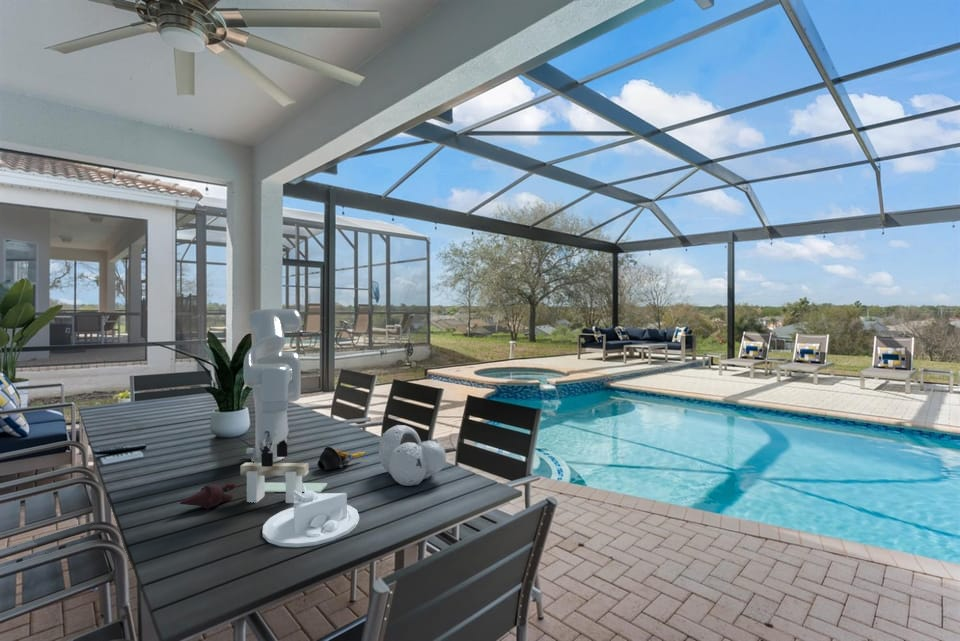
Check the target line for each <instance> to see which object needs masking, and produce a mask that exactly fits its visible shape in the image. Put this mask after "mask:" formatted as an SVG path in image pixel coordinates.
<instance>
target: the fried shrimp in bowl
mask: <svg viewBox="0 0 960 641" xmlns="http://www.w3.org/2000/svg"><path fill="white" fill-rule="evenodd" d="M349 453H350V451H346V452H344V451H339V450H336V448H333V447H331V446H326V447H325V448H324V449H323V451H322V452H321V454H320V456H319V460H318V461H317V467H318V468H319V469H320V470H322V472H323V471H324V472H325V471H326V470H328V471H332V470H335V469H338V468H339V469H344V468H346V467H348V466H349V464H350V463H351V462H352V459H354V458H356V459H357V458H359V457H362V456H364V455H365V454H366V450H362V451H359V452H356V453H352V454H349ZM343 467H344V468H343Z"/></svg>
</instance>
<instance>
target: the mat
mask: <svg viewBox="0 0 960 641" xmlns="http://www.w3.org/2000/svg"><path fill="white" fill-rule="evenodd" d="M302 483H303V484H304V486H305V488H306V491H314V492H316V493H322V492H323V491H324V489H325V488H327V486H328V482H302ZM245 492H246V493H247V489H246V491H245ZM274 492H286V482H265V493H274ZM302 492H305V491H304V489H303V486H302Z"/></svg>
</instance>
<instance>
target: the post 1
mask: <svg viewBox="0 0 960 641" xmlns="http://www.w3.org/2000/svg"><path fill="white" fill-rule="evenodd" d="M245 476H246V490H247V492H246V503H247V502H249V503H250V502H251V504H252V503H253V502H254V503H255V504H257V503H258V502H260V500H262V499H263V498H264V497H265V496H266V495H265V494H266V492H265V476H258V471H247V472H246V475H245Z"/></svg>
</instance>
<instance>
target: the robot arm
mask: <svg viewBox="0 0 960 641" xmlns="http://www.w3.org/2000/svg"><path fill="white" fill-rule="evenodd" d="M301 316H302V315H301V314H300V312H299V311H298V310H297V309H295V308H294V309H293V308H268V309H263V308H262V309H255V310H252V311H251V312H250V313H249V315H248V322H249V326H250V329H251V331H252V334H253V336H254V339H255V341H256V343H255V344H253V345H252V346H251V347H250V348H249V349H248V350H247V352H246V353H245V356H244V359H243V383H244V384H245V386H246V387H248V388H250V389H252V396H253V402H254V410H255V412H254V414H255V415H254V417H255V425H254V426H255V427H254V428H255V432H254V433H255V434H254V435H255V439H254V440H255V447H247V448H246V453H245V454H246V455H252V456H251V458H250V461H251V463H253V462H254V463H262V467H271V466H273V463H278V462H280V461H283V460H284V459H286V458H287V457H288V442H289V439H288V438H289V430H290V428H289V424H288V422H289V421H288V410H289V403H293V402H297V401H298V400H299V399H300V398H301V393H302V392H301V389H302V384H301V383H302V381H301V380H302V378H301V373H302V372H301V370H302V369H301V358H300V356H299V354H298V353H297V352H296V351H281V350H283V348H284V347H285V344H286V340H285V333H296V332H297V333H298V332H299V331H300V330H301V327H302V317H301ZM255 363H256V364H255ZM282 459H283V460H282Z"/></svg>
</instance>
